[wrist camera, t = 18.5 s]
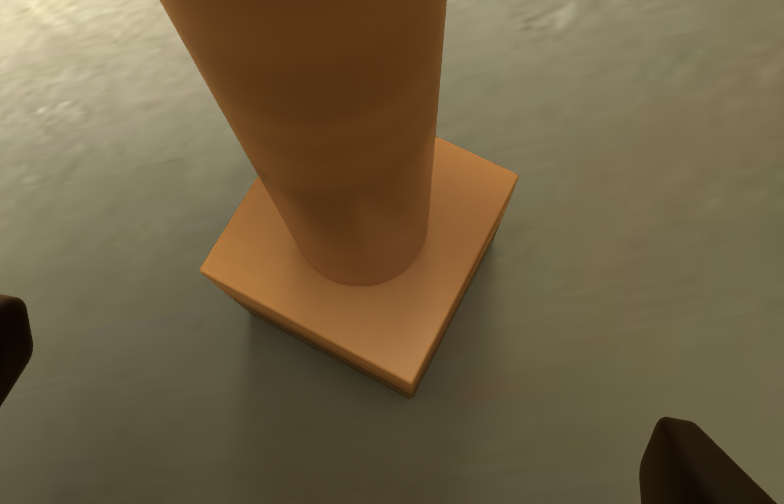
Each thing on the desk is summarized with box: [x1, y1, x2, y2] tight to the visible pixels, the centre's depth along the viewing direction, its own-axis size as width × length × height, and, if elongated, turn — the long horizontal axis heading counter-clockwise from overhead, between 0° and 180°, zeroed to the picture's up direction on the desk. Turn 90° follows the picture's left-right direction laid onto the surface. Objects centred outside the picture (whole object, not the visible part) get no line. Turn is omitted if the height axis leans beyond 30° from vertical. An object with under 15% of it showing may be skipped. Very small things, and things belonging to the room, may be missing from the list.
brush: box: [160, 0, 519, 398], centre depth 11 cm, size 5×5×15 cm
